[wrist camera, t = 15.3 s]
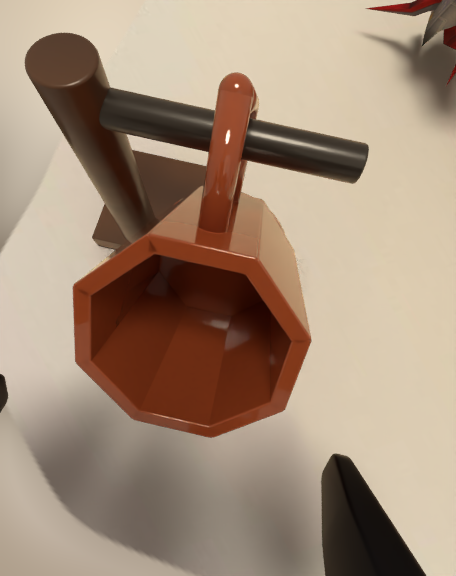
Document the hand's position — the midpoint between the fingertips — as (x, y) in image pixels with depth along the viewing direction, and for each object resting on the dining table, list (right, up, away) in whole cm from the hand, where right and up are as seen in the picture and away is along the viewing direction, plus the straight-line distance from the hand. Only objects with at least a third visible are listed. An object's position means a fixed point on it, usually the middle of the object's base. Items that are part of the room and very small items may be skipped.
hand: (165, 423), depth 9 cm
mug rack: (0, +8, +14) cm, 16 cm away
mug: (+2, +7, +7) cm, 10 cm away
